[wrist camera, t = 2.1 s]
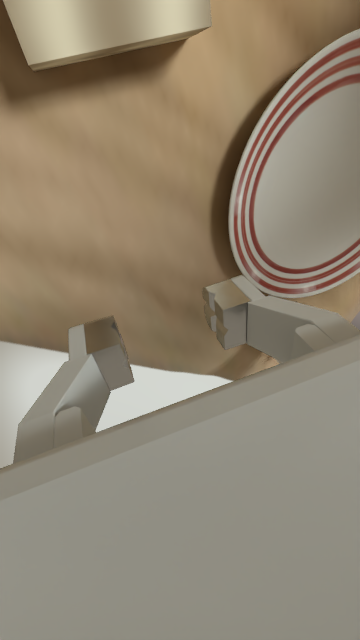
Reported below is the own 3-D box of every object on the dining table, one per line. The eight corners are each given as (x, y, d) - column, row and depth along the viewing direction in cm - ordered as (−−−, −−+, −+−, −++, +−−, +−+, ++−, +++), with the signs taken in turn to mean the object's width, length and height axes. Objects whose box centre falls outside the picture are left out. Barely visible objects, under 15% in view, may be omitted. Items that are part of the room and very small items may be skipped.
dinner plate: (254, 319, 44) (266, 332, 42) (177, 137, 26) (189, 141, 23) (411, 222, 42) (433, 229, 40) (444, -45, 24) (488, -62, 22)
